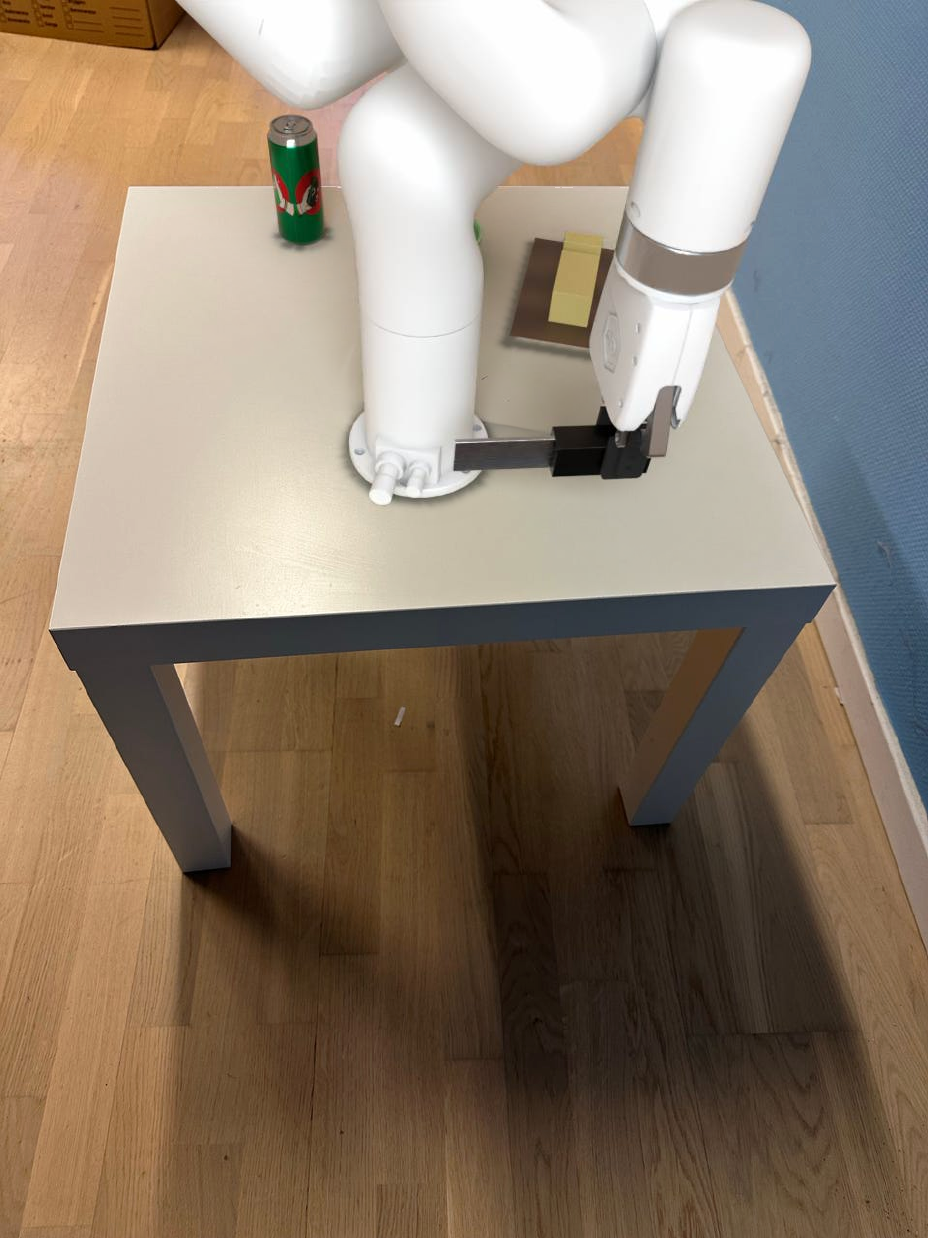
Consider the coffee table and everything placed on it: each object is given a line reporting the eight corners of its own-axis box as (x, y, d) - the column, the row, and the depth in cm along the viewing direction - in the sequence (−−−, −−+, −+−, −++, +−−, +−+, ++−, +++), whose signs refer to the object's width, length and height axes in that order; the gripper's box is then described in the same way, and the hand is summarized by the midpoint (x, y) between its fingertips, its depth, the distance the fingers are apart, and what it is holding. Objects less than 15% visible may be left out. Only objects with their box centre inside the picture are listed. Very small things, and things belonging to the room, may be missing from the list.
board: (616, 361, 90) (618, 352, 89) (508, 343, 91) (509, 335, 90) (630, 260, 100) (632, 252, 99) (533, 245, 101) (534, 237, 100)
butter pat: (596, 276, 96) (601, 246, 94) (559, 270, 97) (564, 240, 94) (597, 265, 98) (603, 236, 95) (561, 260, 98) (566, 230, 95)
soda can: (329, 224, 101) (320, 114, 91) (320, 249, 98) (310, 139, 89) (285, 220, 101) (271, 109, 92) (275, 245, 98) (260, 133, 89)
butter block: (586, 327, 91) (592, 297, 88) (548, 321, 91) (552, 291, 89) (594, 285, 95) (600, 255, 93) (557, 279, 96) (562, 249, 93)
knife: (454, 481, 67) (457, 452, 65) (450, 458, 68) (453, 429, 66) (646, 473, 69) (656, 445, 67) (639, 451, 70) (648, 422, 68)
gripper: (592, 172, 58) (549, 392, 73) (651, 331, 49) (589, 544, 64) (702, 173, 59) (637, 389, 74) (780, 328, 50) (688, 539, 65)
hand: (615, 459), depth 69 cm, fingers closed on knife, 2 cm apart
